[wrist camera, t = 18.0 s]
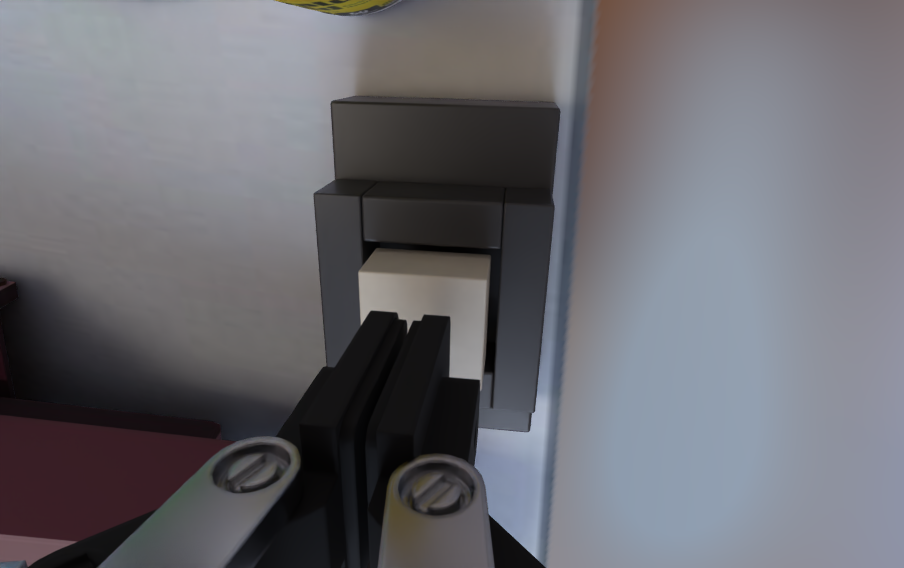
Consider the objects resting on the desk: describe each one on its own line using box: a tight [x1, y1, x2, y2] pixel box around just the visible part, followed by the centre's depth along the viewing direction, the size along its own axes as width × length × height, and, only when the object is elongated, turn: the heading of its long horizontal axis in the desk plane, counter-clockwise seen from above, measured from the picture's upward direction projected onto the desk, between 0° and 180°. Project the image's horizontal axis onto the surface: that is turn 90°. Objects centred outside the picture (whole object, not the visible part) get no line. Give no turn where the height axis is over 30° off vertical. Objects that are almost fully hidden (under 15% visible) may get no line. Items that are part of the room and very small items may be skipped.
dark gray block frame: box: [314, 96, 560, 432], centre depth 16 cm, size 10×6×4 cm, turn 179°
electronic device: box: [0, 278, 370, 568], centre depth 18 cm, size 11×27×10 cm, turn 81°
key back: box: [358, 248, 491, 391], centre depth 14 cm, size 3×3×2 cm
